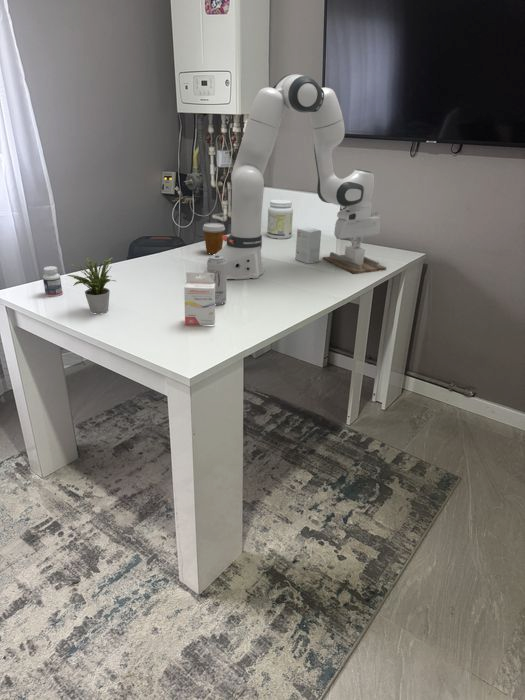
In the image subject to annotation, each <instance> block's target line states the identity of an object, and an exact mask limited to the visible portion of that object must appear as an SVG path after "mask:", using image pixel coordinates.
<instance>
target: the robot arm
mask: <svg viewBox="0 0 525 700" xmlns="http://www.w3.org/2000/svg"><path fill="white" fill-rule="evenodd" d="M288 111H292V112H297V113H307V114H308V116H309V119H310V124H311V128H312V133H313V140H314V143H313V152H314V153H313V154H314V159H315V165H316V171H317V173H316V174H317V187H316V188H317V189H316V190H317V192H316V193H317V196H318V198H319V199H320V201H322V202H324V203H326V204H327V203H328V204H333V205H336V206H340V207H346V208H344V209H342V210H340V211H338V212H337V214H336V216H337V219H336V221H335V226H334V237H335V238H336V239H339V240H344V239H345V240H346V239H349V240H350V242H351V246H352V248H361V244H362V242H363V241H364V237H372V236H375V237H376V236H378V235H379V234H380V232H381V231H380V229H381V220H380V219H381V215H380V213H379V212H378V211H374V212H373V211H372V208H373V204H372V202H373V201H372V198H373V196H374V191H375V190H374V189H375V177H374V174H373V172H372V171H368V170H363V169H358V168H357V169H354V170H353V172H352V173H351V174H349V175H347V176H346V177H344V178H341V177H340V178H339V177H338V176H337V175H336V174H335V173H334V165H333V158H332V157H333V155H332V153H333V150H334V149H335V148H336V147H338V146H339V145H340V144H341V143H342V142H343V140H344V138H345V134H346V133H345V132H346V131H345V130H346V129H345V121H344V117H343V112H342V109H341V106H340V103H339V99H338V97H337V94H336V92H335V90H333V89H332V88H331V87H321V86H320V85H319V84H318V82H317V81H316V80H315V79H314V78H312V77H311V76H308V75H303V74H298V73H296V74H291V73H290V74H286V75H284V76H283V77H281V78H280V79H279V81H278V82H277V83H276V84H275V85H274V86H273V87H270V86H269V87H263V88H261V89H260V90H259V91H258V92H257V94H256V96H255V98H254V101H253V103H252V105H251V107H250V111H249V114H248V118H247V121H246V124H245V128H244V132H243V135H242V140H241V142H240V145H239V148H238V152H237V155H236V158H235V161H234V165H233V168H232V171H231V177H230V181H231V210H230V211H231V212H230V213H231V214H230V215H231V217H230V219H231V221H230V222H231V224H230V225H231V228H230V234H229V235H226V234H224V235H223V236H222V239H223V242H226V244H225V246H222V249H221V250H220V251H218V252H217V253H216V254H215V255H222V256H224V257H225V258H224V259H225V260H226V281H228V280H227V279H235V280H250V278H253V279H258V278H260V276H261V275H263V274H264V273H265V270H264V267H263V261H262V247H263V240H262V239H263V235H262V214H263V213H262V212H263V204H264V203H263V200H264V190H265V189H264V186H265V180H264V177H263V176H264V173H265V171H266V168H267V164H268V162H269V159H270V157H271V155H272V153H273V150H274V147H275V143H276V140H277V136H278V134H279V131H280V130H279V129H280V126H281V123H282V119H283V118H284V115H285V114H286V113H287V112H288ZM204 269H205V270H204V273H207V267H205V268H204Z"/></svg>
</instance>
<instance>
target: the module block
mask: <svg viewBox="0 0 525 700" xmlns="http://www.w3.org/2000/svg"><path fill="white" fill-rule="evenodd" d="M365 253H366V249H365V248H363V247H360V248H352V245H346V246H345V248H344V255H345V258H347V259H350V260H352V261H354V262H356V263H359V264H363V261H364V257H365Z"/></svg>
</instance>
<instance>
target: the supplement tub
mask: <svg viewBox="0 0 525 700" xmlns="http://www.w3.org/2000/svg"><path fill="white" fill-rule="evenodd" d="M269 205H270V206H269V207H268V208H267V228H266V229H267V230H266V231H267V232H266V234H267V236H268V237H269V238H271V239H275V238H277V239H276V240H286V239H289V238H291V237H292V235H293V234H292V233H293V217H294V216H293V215H294V209H293V207H292V206H293V205H292V200H288V199H271V200H270V201H269Z"/></svg>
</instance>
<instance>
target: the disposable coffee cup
mask: <svg viewBox="0 0 525 700" xmlns="http://www.w3.org/2000/svg"><path fill="white" fill-rule="evenodd" d="M225 230H226V227H225V225H224V224H222V223H219V222H207V223H204V224H203V226H202V231H203V234H204V235H203V236H204V243H205V244H204V245H205V251H206V254H207V253H210V254H216V253H217V252H218V251H220V250H221V249H222V248H223V243H224V240H223V239H222V236H223V235H225Z"/></svg>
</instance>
